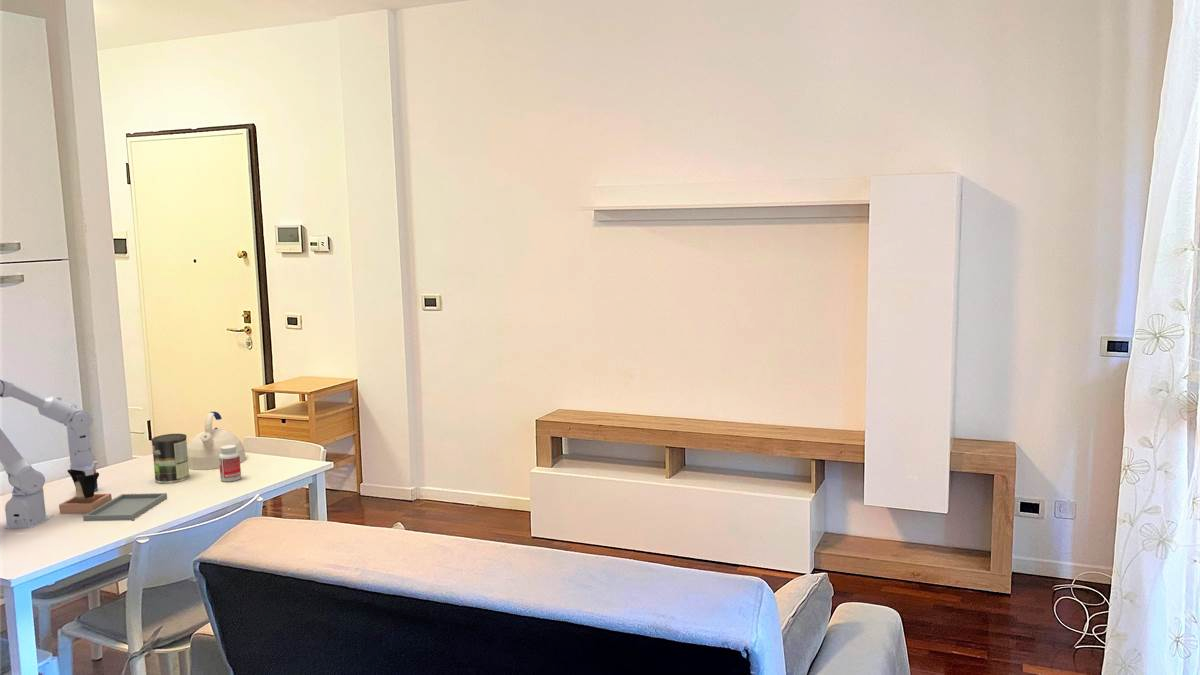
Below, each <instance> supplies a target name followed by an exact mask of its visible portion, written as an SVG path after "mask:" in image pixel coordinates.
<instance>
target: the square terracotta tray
mask: <svg viewBox="0 0 1200 675" xmlns="http://www.w3.org/2000/svg"><path fill="white" fill-rule="evenodd" d="M112 497H113V496H112V493H94V499H95V501H94V502H92V503H77V497H76V495H75V496H73V497H71V498H69V499H67V500H65V501H63V502H61V503H59V505H58V509H59V514H88V513H89V512H91V511H93V510H95V509H96V508H98V507H100V506H102V505H103V504H105V503H107V502H109V501H111V500H112V499H113V498H112Z"/></svg>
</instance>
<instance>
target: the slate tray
mask: <svg viewBox="0 0 1200 675" xmlns="http://www.w3.org/2000/svg"><path fill="white" fill-rule="evenodd" d="M167 499H168V493H167V492H163V493H162V492H161V493H160V492H159V493H157V492H155V493H154V492H153V493H152V492H151V493H150V492H149V493H121V494H119V495H118V496H116V497H115V498H112V500H111V501H109V502H107V503H105V504H103V505H102V506H100V507H98V508H96V509H95V510H93V511H91V512H89V513H85V515H82V519H83V522H94V521H95V522H96V521H98V522H99V521H102V522H103V521H105V522H106V521H131V522H134V519H135V518H136V519H137V517H138V516H140V515H141V514H143V513H144V514H145V512H146V511H147V512H148V510H149V509H151V508H152V507H154V506H155V507H156V505H157V506H158V505H159V503H160V504H161V502H162V503H163V502H165V501H166V500H167ZM164 500H165V501H164ZM152 509H153V508H152ZM149 511H150V510H149ZM141 516H142V515H141ZM138 518H139V517H138Z"/></svg>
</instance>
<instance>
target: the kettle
mask: <svg viewBox="0 0 1200 675" xmlns="http://www.w3.org/2000/svg"><path fill="white" fill-rule="evenodd" d="M213 418H215V420H217V421H219V420H222V418H223V417H222V415H220V413H219V412H217V411H210V412H208V413H207V414H206V416H205V418H204V419H205V420H204V431H202V432H199V433H198V434H196V435H194V436H193V437H192V438H191V439H190V441H189V442H188V443H187V454H188V466H189V470H193V471H197V470H198V471H202V470H203V471H204V470H205V471H206V470H207V471H208V470H216V469H220V465H219V455H220V454H221V453H222V452H221V447H222V446H226V445H236V448H237V449H236V452H238V453H239V456H240V464H241V463H242V462H244V461H245V460H246V459H247V457H246V451H245V447H244V445H243V442H242V441H241V439H240V438H238V437H237V435H235V434H234V433H232V432H230V431H229V430H227V429H220V428H218V427H214V428H213V420H214V419H213Z"/></svg>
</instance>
